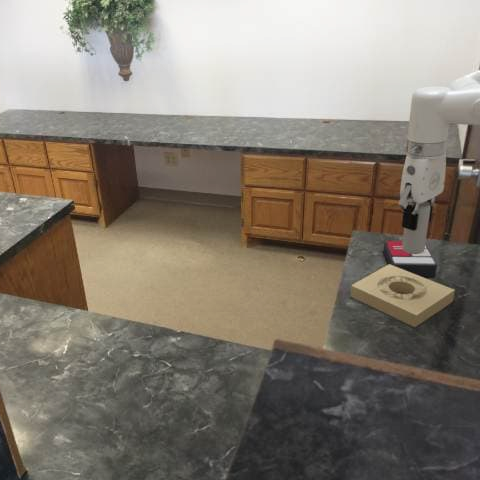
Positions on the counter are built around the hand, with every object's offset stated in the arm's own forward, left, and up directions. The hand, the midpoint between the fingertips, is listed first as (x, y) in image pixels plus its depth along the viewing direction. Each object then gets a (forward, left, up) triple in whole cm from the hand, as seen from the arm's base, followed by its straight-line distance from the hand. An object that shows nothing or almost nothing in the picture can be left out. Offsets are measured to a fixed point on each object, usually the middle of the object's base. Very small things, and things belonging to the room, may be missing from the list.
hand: (416, 223), depth 116 cm
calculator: (+12, -20, -23) cm, 33 cm away
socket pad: (+3, -3, -23) cm, 24 cm away
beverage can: (0, 0, -7) cm, 7 cm away
